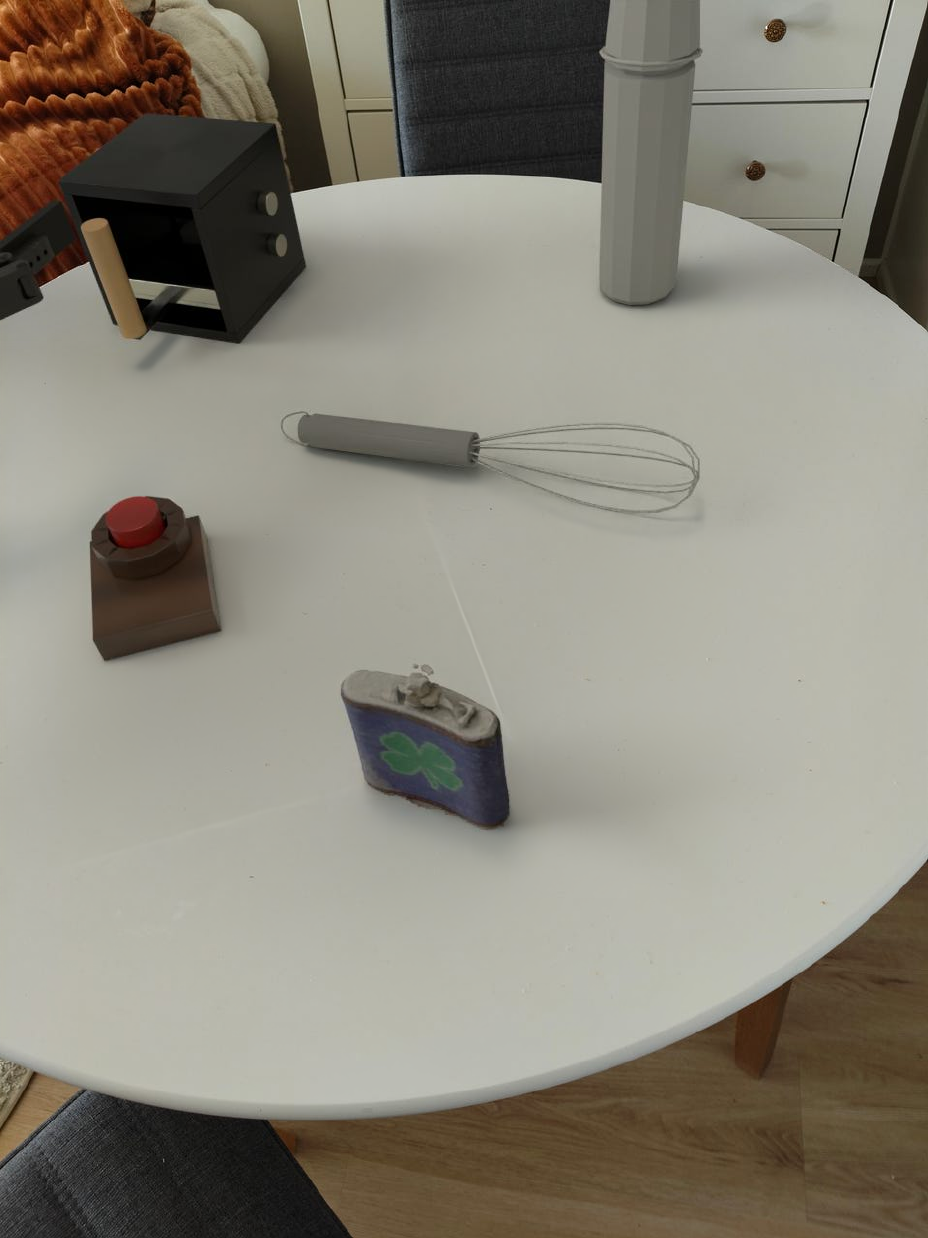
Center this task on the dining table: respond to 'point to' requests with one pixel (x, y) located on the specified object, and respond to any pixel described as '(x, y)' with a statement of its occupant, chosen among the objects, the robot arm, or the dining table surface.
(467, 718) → the flask
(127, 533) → the button
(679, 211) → the water bottle
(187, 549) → the brown boxy piece
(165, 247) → the tray
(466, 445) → the kitchen whisk
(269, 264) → the oven
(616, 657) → the dining table surface
